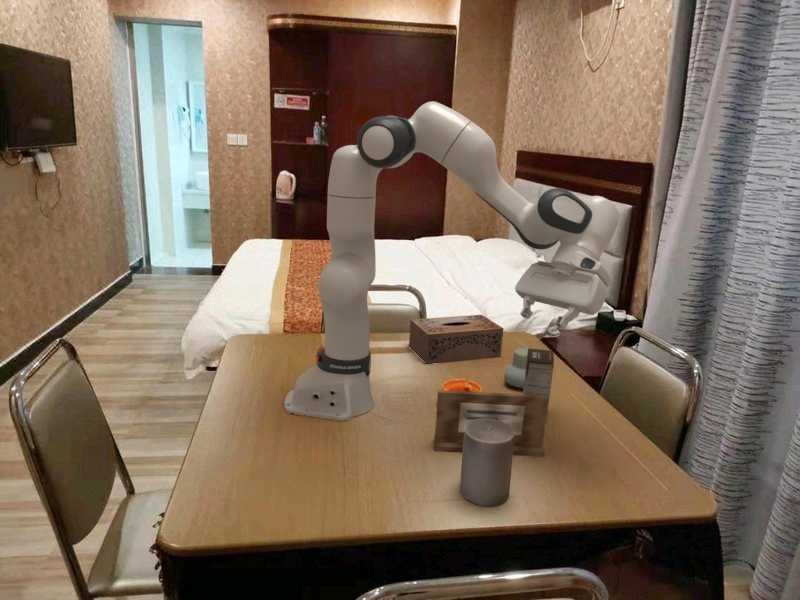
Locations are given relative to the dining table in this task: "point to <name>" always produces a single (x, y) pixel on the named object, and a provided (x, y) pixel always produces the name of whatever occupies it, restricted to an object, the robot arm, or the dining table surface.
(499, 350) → the tissue box cover
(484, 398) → the label placard
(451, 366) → the dining table surface
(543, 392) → the coffee box
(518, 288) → the robot arm
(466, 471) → the pillar candle
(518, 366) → the air freshener
